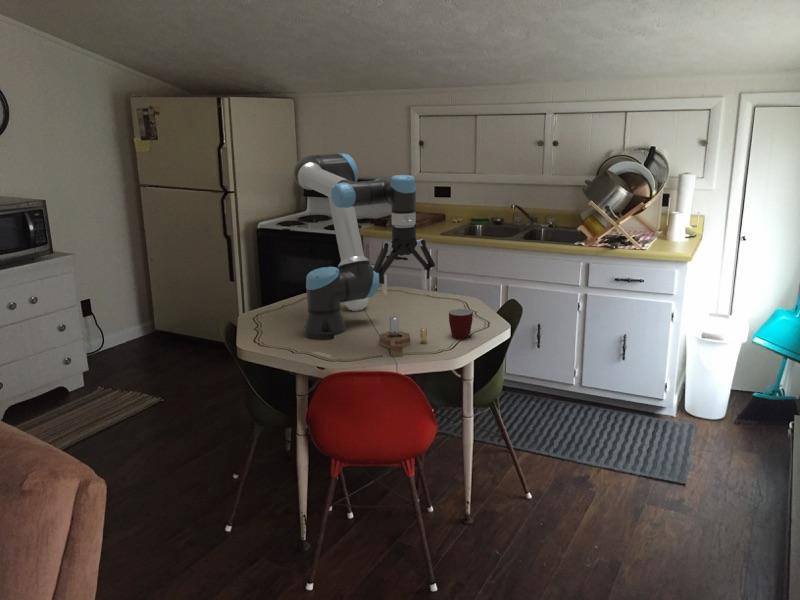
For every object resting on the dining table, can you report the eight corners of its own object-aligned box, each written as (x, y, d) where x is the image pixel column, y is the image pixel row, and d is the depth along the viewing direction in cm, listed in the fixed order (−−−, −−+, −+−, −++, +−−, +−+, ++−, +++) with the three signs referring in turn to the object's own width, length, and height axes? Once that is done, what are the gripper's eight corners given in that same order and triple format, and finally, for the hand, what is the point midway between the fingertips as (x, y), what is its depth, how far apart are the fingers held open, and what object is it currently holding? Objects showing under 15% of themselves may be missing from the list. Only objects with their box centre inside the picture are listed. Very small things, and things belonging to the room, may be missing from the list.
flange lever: (379, 338, 237) (379, 329, 236) (408, 337, 237) (408, 328, 236) (381, 357, 220) (380, 346, 219) (412, 355, 220) (412, 345, 219)
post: (388, 343, 232) (387, 318, 230) (394, 341, 234) (393, 316, 232) (395, 345, 230) (395, 319, 228) (401, 342, 233) (400, 317, 230)
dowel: (419, 343, 232) (419, 329, 230) (423, 341, 234) (422, 327, 232) (424, 344, 231) (424, 330, 229) (428, 342, 232) (428, 328, 231)
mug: (447, 334, 244) (447, 307, 241) (469, 333, 244) (470, 306, 242) (450, 344, 234) (450, 315, 231) (473, 343, 234) (474, 315, 231)
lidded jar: (340, 312, 274) (339, 289, 271) (345, 305, 284) (344, 283, 281) (367, 313, 272) (366, 290, 270) (371, 305, 283) (370, 283, 280)
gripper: (369, 230, 208) (371, 298, 214) (445, 224, 216) (444, 289, 222) (362, 226, 215) (364, 292, 221) (435, 220, 223) (435, 284, 229)
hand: (404, 291), depth 222 cm, fingers open, 13 cm apart
